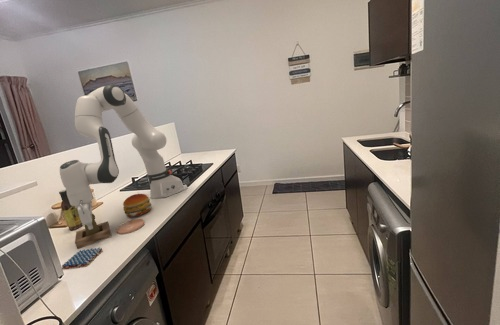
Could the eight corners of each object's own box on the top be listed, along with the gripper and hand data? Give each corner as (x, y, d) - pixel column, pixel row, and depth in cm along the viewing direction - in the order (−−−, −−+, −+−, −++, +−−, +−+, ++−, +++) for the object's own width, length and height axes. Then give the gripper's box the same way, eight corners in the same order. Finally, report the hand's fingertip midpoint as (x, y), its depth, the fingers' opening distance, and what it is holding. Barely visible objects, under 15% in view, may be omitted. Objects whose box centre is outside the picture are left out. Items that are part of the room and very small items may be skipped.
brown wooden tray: (109, 226, 126) (107, 221, 125) (111, 236, 115) (109, 230, 114) (78, 237, 119) (76, 231, 119) (77, 248, 108) (74, 242, 108)
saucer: (142, 218, 129) (141, 216, 128) (146, 226, 119) (145, 224, 118) (115, 227, 123) (115, 225, 123) (118, 237, 113) (117, 234, 113)
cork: (95, 240, 114) (87, 217, 111) (83, 240, 115) (75, 218, 112) (105, 233, 119) (97, 211, 117) (94, 233, 121) (86, 212, 118)
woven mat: (60, 271, 95) (58, 266, 94) (80, 254, 105) (78, 249, 104) (87, 268, 94) (85, 263, 93) (104, 251, 104) (103, 246, 103)
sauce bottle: (79, 228, 129) (66, 191, 124) (66, 231, 128) (52, 194, 124) (85, 223, 135) (73, 187, 131) (73, 225, 135) (60, 190, 130)
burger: (148, 216, 131) (142, 197, 128) (121, 221, 130) (115, 202, 128) (155, 205, 144) (150, 188, 142) (131, 210, 144) (126, 193, 141)
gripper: (89, 201, 105) (99, 232, 109) (89, 190, 122) (98, 217, 126) (71, 207, 102) (82, 238, 106) (74, 194, 120) (83, 221, 123)
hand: (91, 226), depth 116 cm, fingers closed on cork, 4 cm apart
